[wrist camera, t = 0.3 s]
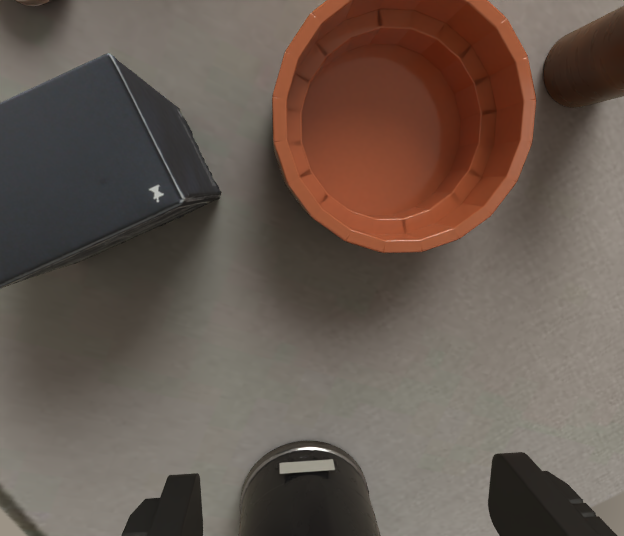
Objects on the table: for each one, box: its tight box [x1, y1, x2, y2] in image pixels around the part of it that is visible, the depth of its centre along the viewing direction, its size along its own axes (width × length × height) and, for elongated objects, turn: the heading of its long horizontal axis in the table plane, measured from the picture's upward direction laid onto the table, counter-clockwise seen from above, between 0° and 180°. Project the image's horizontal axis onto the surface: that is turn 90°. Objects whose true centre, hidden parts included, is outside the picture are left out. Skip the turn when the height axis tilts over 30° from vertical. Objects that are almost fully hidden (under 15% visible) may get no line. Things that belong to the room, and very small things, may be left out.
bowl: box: [272, 0, 536, 253], centre depth 24 cm, size 13×13×6 cm
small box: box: [0, 53, 221, 289], centre depth 21 cm, size 11×6×10 cm, turn 114°
